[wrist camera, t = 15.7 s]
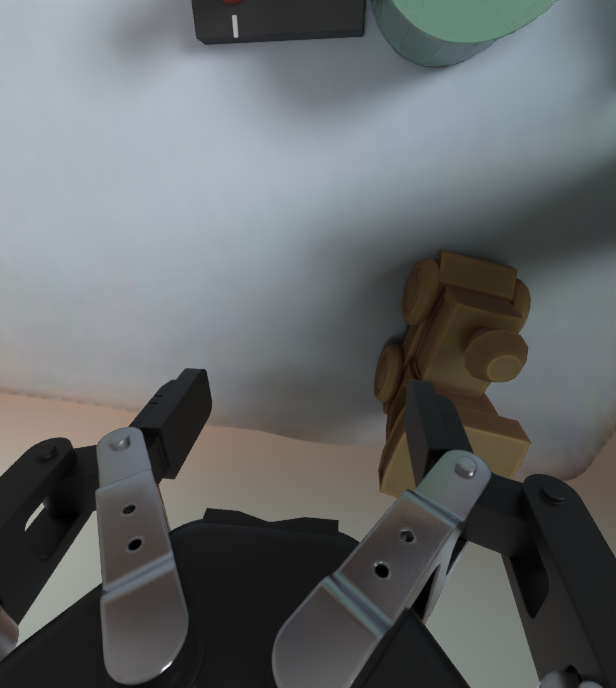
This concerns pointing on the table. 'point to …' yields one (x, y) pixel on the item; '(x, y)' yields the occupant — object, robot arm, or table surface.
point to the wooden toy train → (456, 359)
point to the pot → (419, 40)
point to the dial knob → (232, 1)
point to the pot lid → (469, 18)
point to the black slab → (276, 20)
